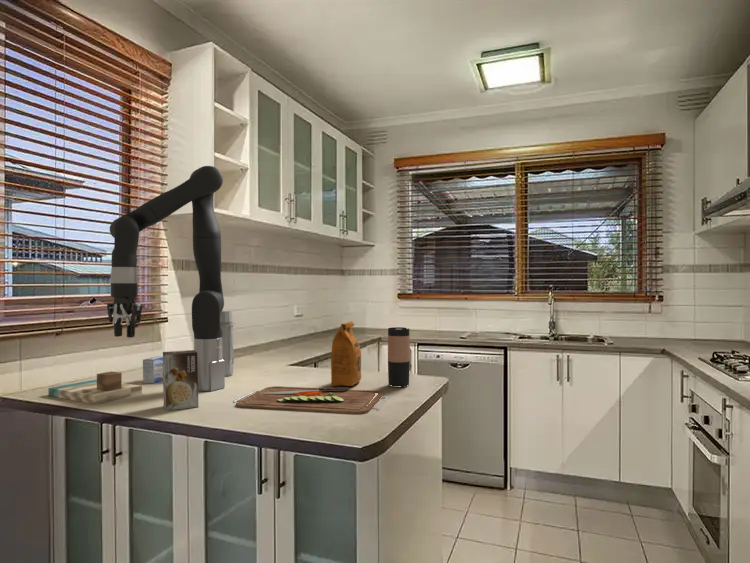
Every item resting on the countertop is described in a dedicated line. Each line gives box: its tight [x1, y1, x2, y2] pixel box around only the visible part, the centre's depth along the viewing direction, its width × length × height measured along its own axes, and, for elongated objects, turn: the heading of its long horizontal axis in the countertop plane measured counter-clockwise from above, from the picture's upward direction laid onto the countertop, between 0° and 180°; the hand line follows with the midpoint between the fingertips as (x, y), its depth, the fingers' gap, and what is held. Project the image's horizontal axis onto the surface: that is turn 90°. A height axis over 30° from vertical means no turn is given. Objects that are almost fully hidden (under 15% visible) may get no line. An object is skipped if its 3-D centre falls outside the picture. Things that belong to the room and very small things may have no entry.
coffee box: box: [162, 349, 200, 412], centre depth 149 cm, size 9×6×16 cm
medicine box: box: [142, 355, 163, 384], centre depth 187 cm, size 8×4×9 cm, turn 168°
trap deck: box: [47, 378, 143, 405], centre depth 165 cm, size 24×16×2 cm, turn 62°
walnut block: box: [96, 370, 123, 391], centre depth 162 cm, size 5×5×5 cm
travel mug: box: [387, 326, 411, 386], centre depth 179 cm, size 8×8×20 cm
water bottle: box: [220, 309, 236, 378], centre depth 198 cm, size 9×8×25 cm
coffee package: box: [330, 320, 362, 387], centre depth 181 cm, size 10×12×22 cm
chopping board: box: [232, 385, 390, 415], centre depth 157 cm, size 45×27×3 cm, turn 78°
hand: (124, 336), depth 158 cm, fingers open, 5 cm apart
